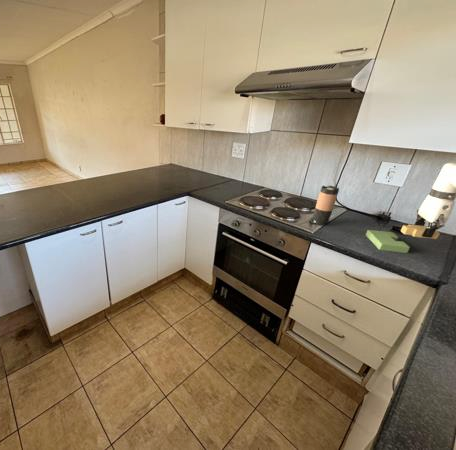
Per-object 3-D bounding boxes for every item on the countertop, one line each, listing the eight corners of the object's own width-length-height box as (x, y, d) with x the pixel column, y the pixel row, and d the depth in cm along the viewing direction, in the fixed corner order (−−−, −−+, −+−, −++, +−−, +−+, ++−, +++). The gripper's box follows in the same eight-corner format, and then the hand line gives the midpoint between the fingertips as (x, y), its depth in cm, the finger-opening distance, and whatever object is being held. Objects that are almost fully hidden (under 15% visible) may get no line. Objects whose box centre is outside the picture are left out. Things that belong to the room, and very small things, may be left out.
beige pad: (427, 232, 110) (430, 226, 108) (436, 239, 104) (440, 233, 103) (398, 229, 112) (401, 223, 111) (406, 235, 107) (409, 229, 106)
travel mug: (324, 227, 129) (336, 191, 120) (308, 222, 134) (319, 187, 125) (329, 223, 133) (341, 187, 124) (314, 218, 138) (324, 184, 129)
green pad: (390, 237, 118) (392, 232, 117) (407, 253, 106) (410, 247, 105) (365, 235, 121) (367, 229, 120) (379, 249, 109) (382, 244, 108)
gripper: (471, 203, 91) (446, 244, 99) (439, 188, 106) (419, 225, 114) (446, 201, 93) (423, 241, 101) (418, 187, 108) (400, 223, 116)
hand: (421, 232), depth 108 cm, fingers closed on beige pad, 6 cm apart
